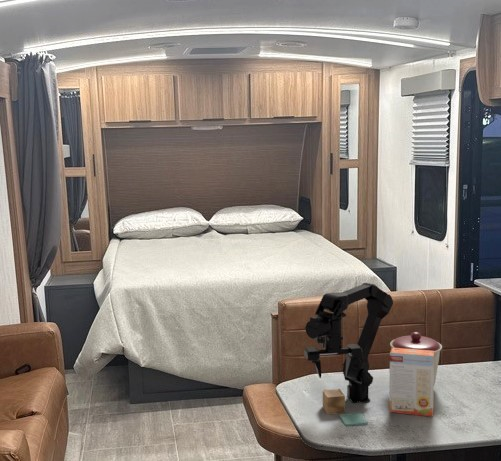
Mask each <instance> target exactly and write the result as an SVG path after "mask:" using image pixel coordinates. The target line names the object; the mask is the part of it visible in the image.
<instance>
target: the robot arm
mask: <svg viewBox="0 0 501 461" xmlns="http://www.w3.org/2000/svg"><path fill="white" fill-rule="evenodd" d="M363 299H365V301H366V302H367V303H366V312H367V316H366V320H365V322H364V324H363V326H362V330H361V333H360V334H359V338H358V340H357V343H351V344H350V343H349V344H348V343H347V344H346V347H343V339H344V338H343V318H345V317H347V314H346V313H345V312H344V311H347V309H348V308H349V306H350V305H352V304H354V303H357V302H359V301H361V300H363ZM393 304H394V300H393V297H392V296H391V294H388V293H387V292H385V291H384V290H382V289H380V288H379V287H378V285H376V284H374V283H371V282H363V283H361V284H360V285H357V286H354V287H352V288H350V289H347V290H344V291H342V292H329V293H324V294H323V296H322V298H321V299H320V302H319V304H318V306H317V308H316V310H315V313H314V315H315V316H311V317H310V318H309V321H307V323H306V324H305V326H304V328H305V334H306V335H307V336H308V337H309V338H310V339H313V340H314V339H315V340H314V341H315V344H316V345H317V344H320V346H321V347H322V349H318V347H316V346H309V347H305V348H304V350H303V351H304V354H303V355H304V357H305V359H306V360H307V361H309V362H311V363H312V364H314V366H315V369H316V373H317V375H318V378H320V379H322V368H321V367H322V365H321V364H322V362H321V360H320V358H321V356H335V355H336V356H337V355H345V359H344V362H343V363H342V374H343V377H344V380H345V381H346V382H348V385H347V386H346V387H347V388H346V389H347V390H346V394H347V396H346V397H347V398H348V399H349V400H350V401H351V403H353V404H354V403H355V404H356V403H365V402H371V399H370V398H369V387H370V386H371V385H372V384H373V381H374V377H373V375H371V373H370V372H369V370H370V363H369V356H370V353H371V349H372V346H373V344H374V341H375V338H376V335H377V333H378V330H379V327H380V325H381V321H382V320H383V319H384V318H385V317H387V315H388V314H390V311H391V309H392V307H393Z"/></svg>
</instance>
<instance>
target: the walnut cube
mask: <svg viewBox="0 0 501 461" xmlns="http://www.w3.org/2000/svg"><path fill="white" fill-rule="evenodd" d="M322 408H323V409H324V411H325V413H326V414H327V415H336V414H338V415H339V414H346V396H345V394H344V393H343V391H342V390H341V388H336V389H335V388H333V389H325V390H324V389H323V390H322Z"/></svg>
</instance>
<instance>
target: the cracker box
mask: <svg viewBox="0 0 501 461" xmlns="http://www.w3.org/2000/svg"><path fill="white" fill-rule="evenodd" d="M434 389H435V385H434V351H430V350H417V349H404V348H392V347H391V348H390V352H389V405H388V406H389V407H388V408H389V412H390V413H397V414H406V415H415V416H416V415H417V416H425V417H433V415H434V404H435V403H434V401H435V400H434V396H435V395H434V394H435V393H434V392H435V390H434Z"/></svg>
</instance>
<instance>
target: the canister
mask: <svg viewBox="0 0 501 461" xmlns="http://www.w3.org/2000/svg"><path fill="white" fill-rule="evenodd" d="M389 345H390V348H391V349H392V348H404V349H417V350H430V351H434V386H436V385H435V384H436V379H437V375H438V374H437V373H438V368H439V360H440V354H441V351H442V349H443V345H442V344H441V343H440V342H439V341H437V340H435V339H433V338H431V337H427V336H424V335H423V336H422V334H421V333H420V332H419V331H413V332H412V333H411V334H410V335H403V336H398V337H396V338H394V339H393V340H391V341H390V343H389Z"/></svg>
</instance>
